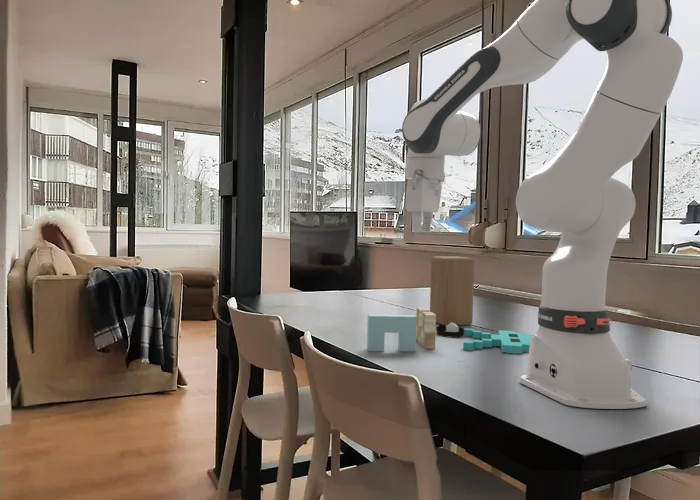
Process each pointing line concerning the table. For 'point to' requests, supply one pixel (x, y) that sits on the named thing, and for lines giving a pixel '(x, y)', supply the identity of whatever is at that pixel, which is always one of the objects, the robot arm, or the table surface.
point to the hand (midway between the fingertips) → (421, 231)
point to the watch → (450, 330)
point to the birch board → (426, 328)
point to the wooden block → (452, 289)
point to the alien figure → (498, 340)
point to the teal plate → (391, 331)
